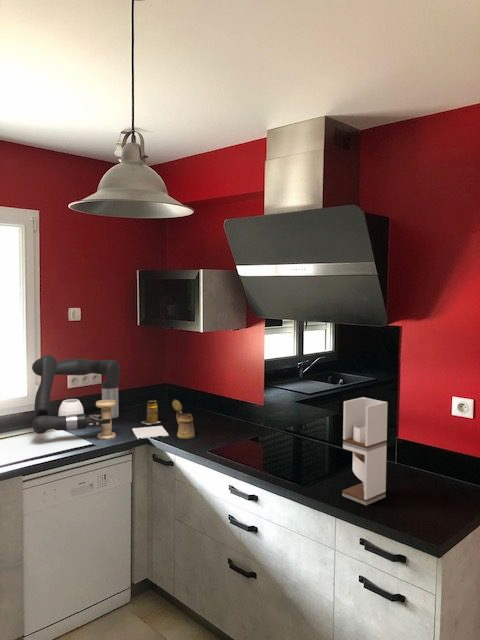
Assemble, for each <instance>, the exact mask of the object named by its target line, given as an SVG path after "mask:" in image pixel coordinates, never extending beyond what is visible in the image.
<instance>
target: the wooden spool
mask: <svg viewBox="0 0 480 640" xmlns="http://www.w3.org/2000/svg"><path fill="white" fill-rule="evenodd" d="M114 406H116V400H109V399H107V400H102V399H101V400H97V401H96V402H95V407H96V408H100V415H101V419H102V420H103V419H110V423H109V424H103V425H102V426H100V427H101V432H100V433H98V434H97V438H98V440H112V439H115V438H116V436H117V434H116V432H113V431H112V430H113V428H112V425H113V424H112V418H111V407H114ZM111 438H112V439H111Z"/></svg>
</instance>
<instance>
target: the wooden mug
mask: <svg viewBox="0 0 480 640" xmlns="http://www.w3.org/2000/svg"><path fill="white" fill-rule="evenodd" d="M171 406H172V408H173V410H174V411H176V415H175V416H176V421H177V424H178V427H177V428H178V429H177V433H176V434H177V435H176V437H177V438H178V439H183V440H188V439H194V438H195V437H196V433H195V428H194V422H193V421H194V417H193V415H192V414H191V413H183V411H182V410H183V405H182V403H181V402H180V401H179V400H178V399H176V398H174V399H173V400H172V402H171Z"/></svg>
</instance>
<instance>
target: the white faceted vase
mask: <svg viewBox="0 0 480 640" xmlns="http://www.w3.org/2000/svg"><path fill="white" fill-rule="evenodd" d="M72 414H85V412H84V406H83V404H82V403H81V401H80V400H79V399H77V398H70V399H69V398H68V399H65V400H62V402H61V404H60V406H59V408H58V415H57V416H66V415H72Z"/></svg>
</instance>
